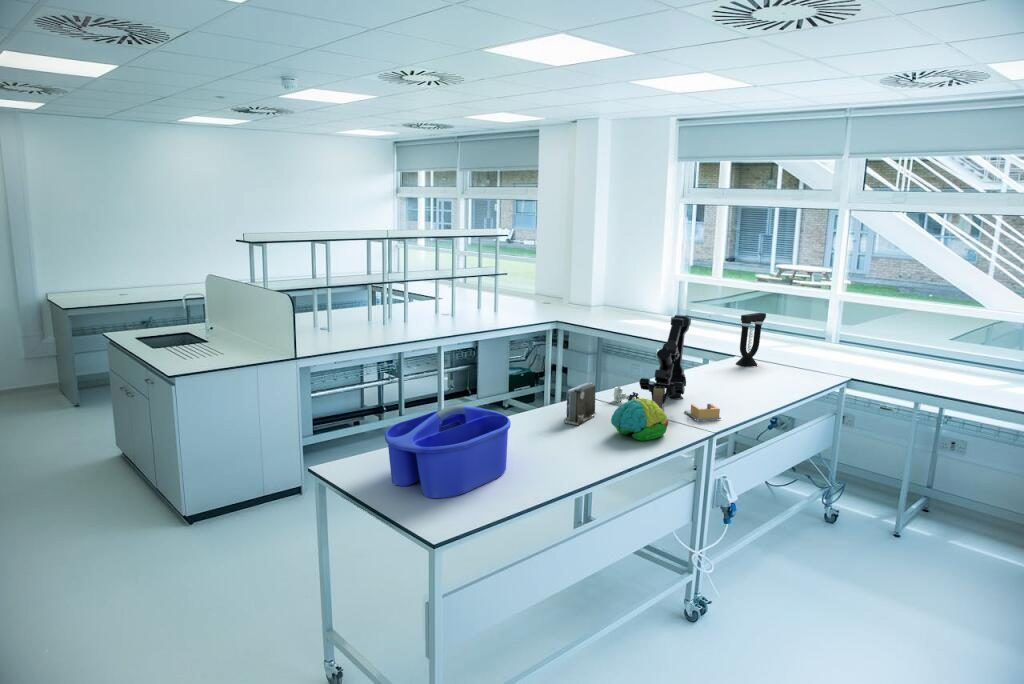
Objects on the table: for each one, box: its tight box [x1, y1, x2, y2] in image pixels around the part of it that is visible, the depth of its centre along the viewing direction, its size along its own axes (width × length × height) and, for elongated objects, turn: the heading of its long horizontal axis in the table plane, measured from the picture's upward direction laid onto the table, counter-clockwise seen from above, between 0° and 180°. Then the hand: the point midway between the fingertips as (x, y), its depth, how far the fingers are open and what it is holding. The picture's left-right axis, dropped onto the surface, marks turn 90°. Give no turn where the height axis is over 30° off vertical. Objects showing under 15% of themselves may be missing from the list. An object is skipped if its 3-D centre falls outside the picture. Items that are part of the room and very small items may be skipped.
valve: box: [613, 386, 640, 403], centre depth 297 cm, size 7×7×12 cm
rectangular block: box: [653, 386, 666, 412], centre depth 277 cm, size 4×4×13 cm
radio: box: [563, 381, 596, 426], centre depth 274 cm, size 23×9×15 cm, turn 144°
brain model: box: [610, 398, 669, 442], centre depth 252 cm, size 24×19×15 cm
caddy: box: [384, 404, 511, 499], centre depth 212 cm, size 32×45×23 cm
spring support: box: [735, 312, 767, 367], centre depth 376 cm, size 21×12×30 cm, turn 130°
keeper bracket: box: [684, 403, 722, 421], centre depth 278 cm, size 12×11×7 cm
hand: (657, 402), depth 275 cm, fingers closed on rectangular block, 4 cm apart
